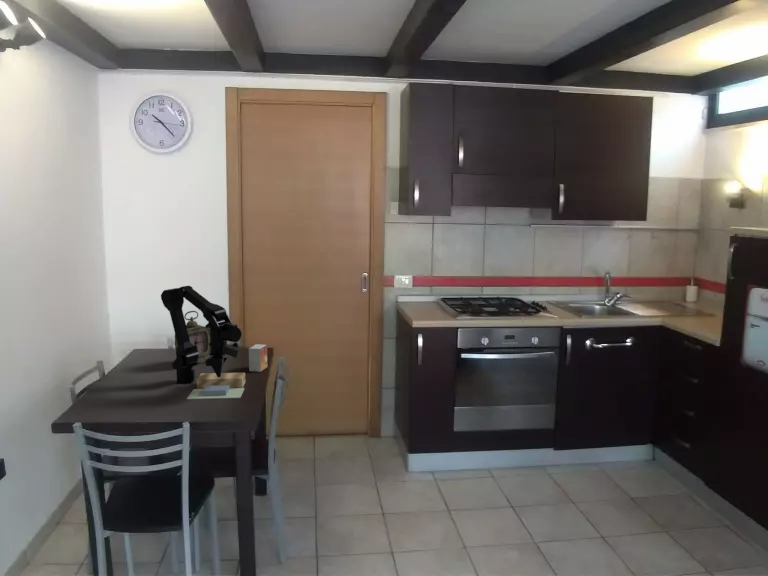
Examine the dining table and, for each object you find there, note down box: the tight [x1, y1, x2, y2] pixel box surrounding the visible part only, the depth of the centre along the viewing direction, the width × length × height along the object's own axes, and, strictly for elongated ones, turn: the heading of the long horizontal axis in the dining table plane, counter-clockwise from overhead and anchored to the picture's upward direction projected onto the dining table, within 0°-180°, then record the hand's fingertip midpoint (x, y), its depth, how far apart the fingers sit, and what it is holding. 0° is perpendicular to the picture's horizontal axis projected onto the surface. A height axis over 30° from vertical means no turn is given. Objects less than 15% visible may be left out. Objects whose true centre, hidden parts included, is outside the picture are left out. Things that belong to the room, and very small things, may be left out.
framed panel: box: [196, 372, 246, 389], centre depth 240 cm, size 18×8×4 cm, turn 94°
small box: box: [248, 343, 268, 373], centre depth 262 cm, size 8×6×10 cm
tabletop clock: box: [174, 310, 211, 363], centre depth 269 cm, size 14×9×25 cm, turn 139°
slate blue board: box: [203, 385, 229, 396], centre depth 230 cm, size 9×6×2 cm, turn 94°
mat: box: [186, 387, 245, 400], centre depth 230 cm, size 20×11×1 cm, turn 94°
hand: (219, 376), depth 235 cm, fingers closed
